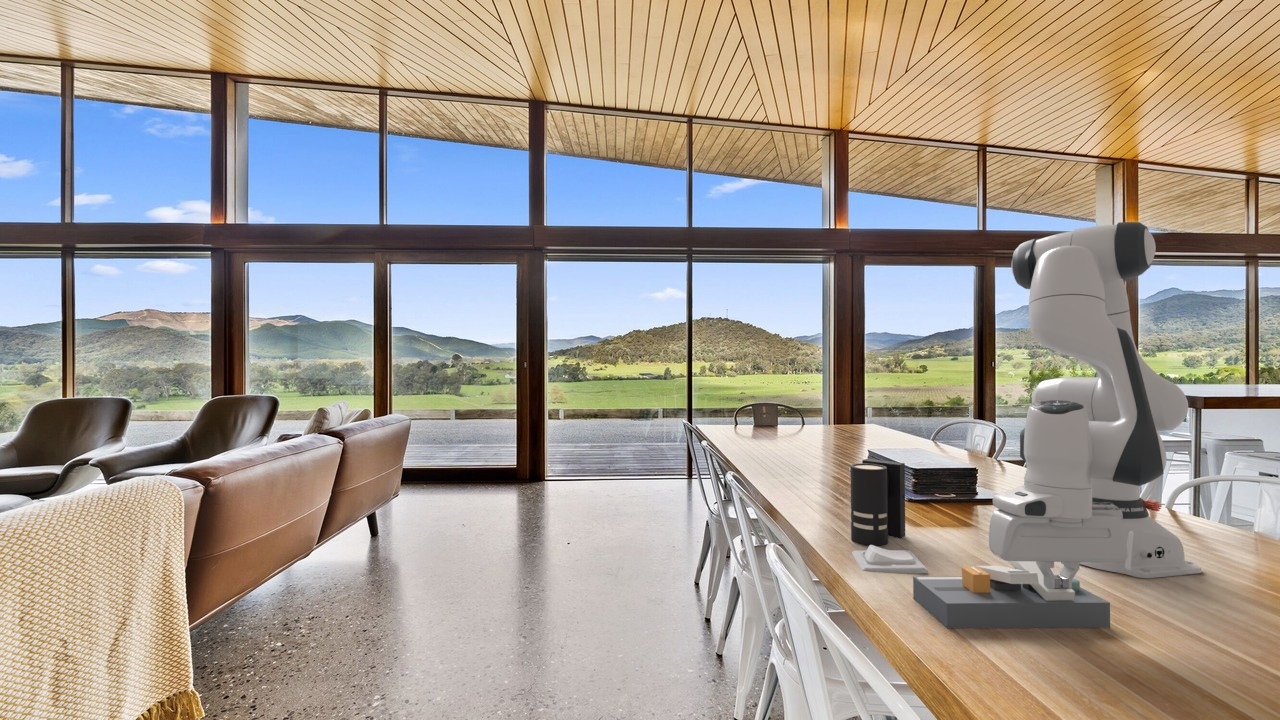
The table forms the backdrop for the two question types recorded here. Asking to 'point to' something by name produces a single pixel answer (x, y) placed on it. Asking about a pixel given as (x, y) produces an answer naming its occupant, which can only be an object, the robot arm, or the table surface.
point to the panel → (1006, 606)
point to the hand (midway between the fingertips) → (1057, 587)
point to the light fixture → (877, 502)
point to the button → (1075, 585)
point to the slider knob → (976, 580)
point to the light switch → (888, 560)
